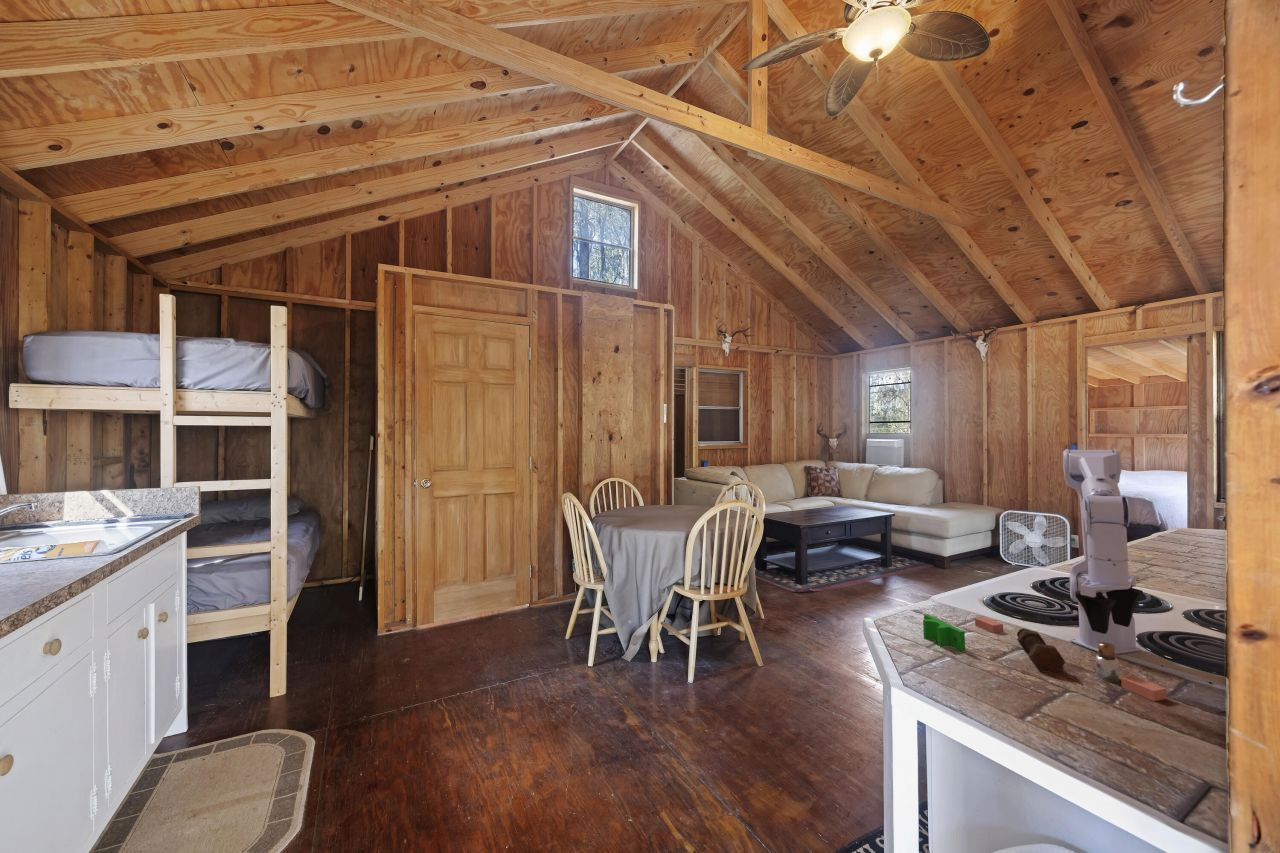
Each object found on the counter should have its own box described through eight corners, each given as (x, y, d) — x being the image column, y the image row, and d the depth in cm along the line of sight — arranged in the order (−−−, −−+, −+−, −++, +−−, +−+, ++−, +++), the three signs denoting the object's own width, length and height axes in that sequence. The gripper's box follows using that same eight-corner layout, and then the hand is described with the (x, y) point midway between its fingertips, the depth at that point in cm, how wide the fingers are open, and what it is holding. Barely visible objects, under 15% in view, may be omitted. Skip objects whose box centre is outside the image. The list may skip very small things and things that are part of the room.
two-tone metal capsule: (1103, 673, 100) (1101, 640, 100) (1123, 680, 97) (1121, 646, 97) (1092, 675, 99) (1091, 642, 99) (1112, 683, 96) (1110, 649, 96)
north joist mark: (1134, 685, 95) (1133, 675, 95) (1166, 698, 90) (1166, 688, 90) (1121, 687, 94) (1121, 677, 94) (1153, 701, 89) (1153, 690, 89)
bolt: (1030, 652, 114) (1053, 680, 100) (1006, 638, 116) (1026, 663, 102) (1044, 631, 113) (1070, 656, 100) (1020, 617, 115) (1042, 640, 101)
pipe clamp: (914, 634, 122) (914, 615, 122) (928, 633, 122) (927, 614, 122) (950, 653, 111) (949, 632, 111) (965, 651, 111) (964, 630, 111)
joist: (985, 624, 126) (984, 616, 126) (1003, 631, 121) (1003, 624, 121) (975, 625, 125) (974, 618, 125) (993, 633, 121) (992, 625, 121)
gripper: (1103, 549, 104) (1106, 615, 104) (1060, 557, 98) (1063, 627, 98) (1148, 556, 97) (1151, 627, 97) (1105, 566, 92) (1108, 641, 91)
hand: (1110, 628), depth 97 cm, fingers open, 7 cm apart
